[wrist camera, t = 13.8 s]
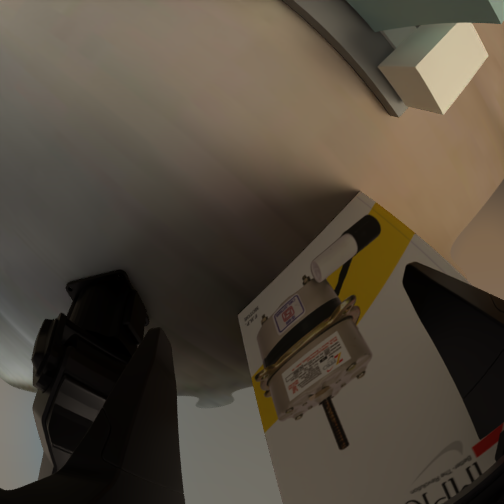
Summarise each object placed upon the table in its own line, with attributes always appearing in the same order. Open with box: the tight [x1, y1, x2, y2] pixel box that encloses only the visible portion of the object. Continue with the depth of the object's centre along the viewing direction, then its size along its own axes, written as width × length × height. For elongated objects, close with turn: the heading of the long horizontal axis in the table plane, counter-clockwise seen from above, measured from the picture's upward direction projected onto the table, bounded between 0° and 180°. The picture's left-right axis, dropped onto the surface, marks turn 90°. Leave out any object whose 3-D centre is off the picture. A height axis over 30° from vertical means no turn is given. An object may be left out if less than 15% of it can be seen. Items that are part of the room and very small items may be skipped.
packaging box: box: [238, 192, 504, 504], centre depth 18 cm, size 16×16×25 cm
